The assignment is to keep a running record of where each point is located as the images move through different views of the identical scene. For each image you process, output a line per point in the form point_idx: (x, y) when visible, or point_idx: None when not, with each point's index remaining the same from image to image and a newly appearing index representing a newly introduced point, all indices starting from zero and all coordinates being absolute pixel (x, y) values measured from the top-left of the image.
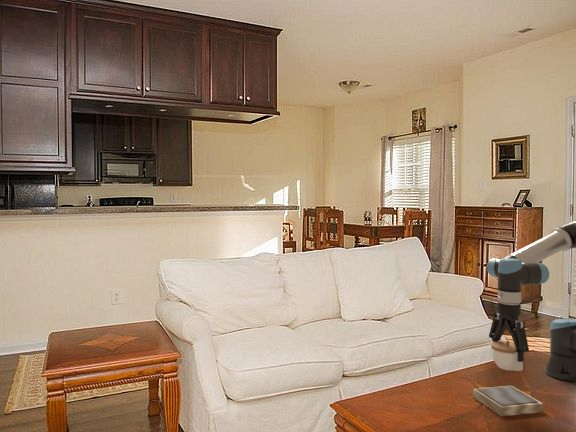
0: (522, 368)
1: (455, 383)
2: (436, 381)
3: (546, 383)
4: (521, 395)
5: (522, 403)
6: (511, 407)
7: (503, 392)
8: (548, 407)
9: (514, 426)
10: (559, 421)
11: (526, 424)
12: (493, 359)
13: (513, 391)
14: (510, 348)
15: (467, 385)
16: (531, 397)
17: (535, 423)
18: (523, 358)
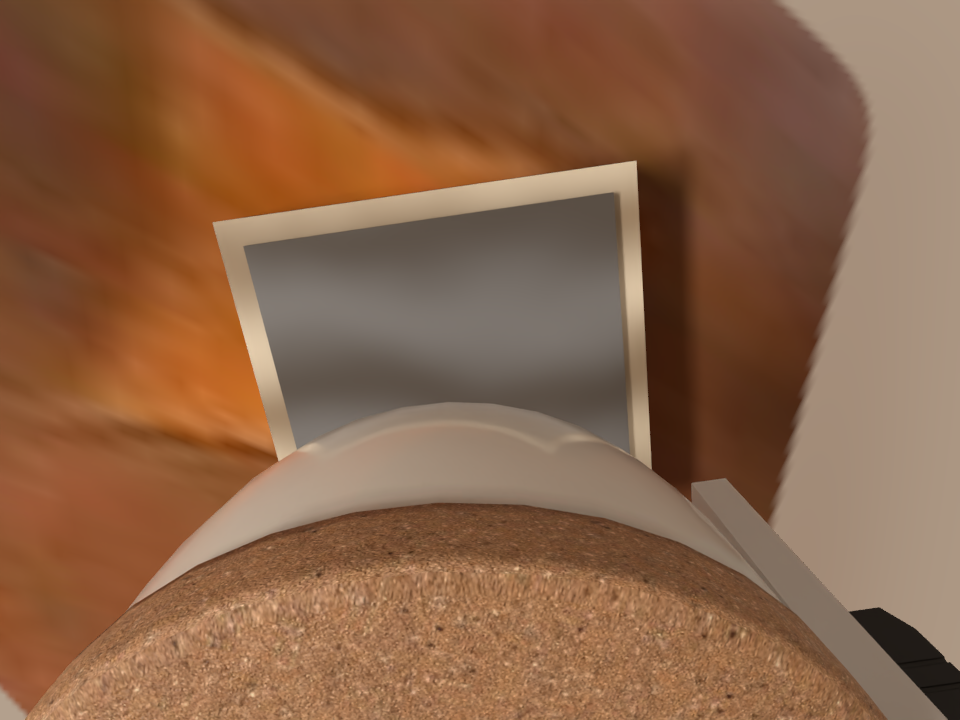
0: (741, 497)
1: (66, 556)
2: (46, 662)
3: None
4: (472, 269)
5: (623, 348)
6: (647, 448)
7: (401, 392)
8: (538, 47)
9: (770, 479)
10: (779, 129)
11: (764, 395)
12: None
13: (379, 293)
14: None
15: (97, 488)
16: (502, 187)
17: (766, 329)
18: (951, 669)
